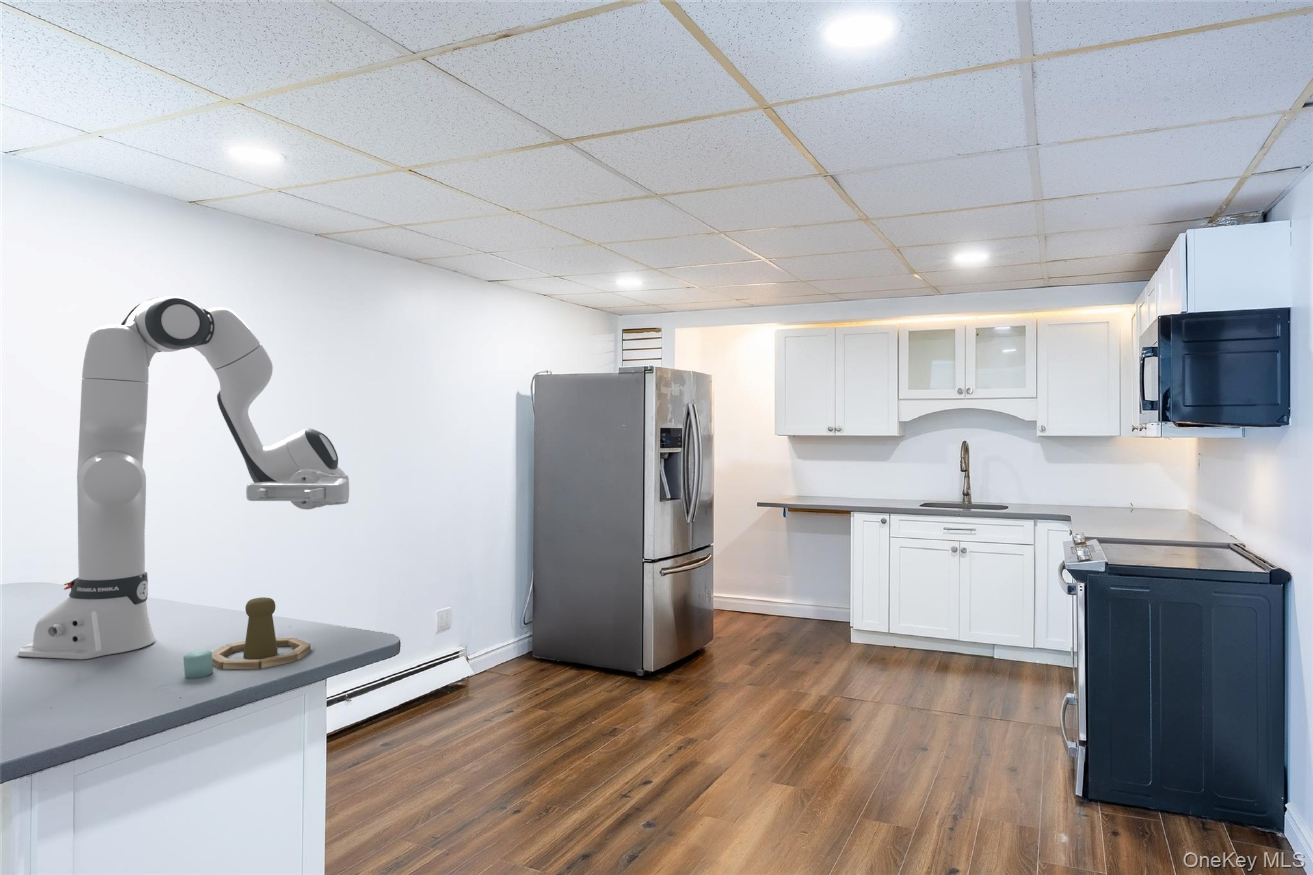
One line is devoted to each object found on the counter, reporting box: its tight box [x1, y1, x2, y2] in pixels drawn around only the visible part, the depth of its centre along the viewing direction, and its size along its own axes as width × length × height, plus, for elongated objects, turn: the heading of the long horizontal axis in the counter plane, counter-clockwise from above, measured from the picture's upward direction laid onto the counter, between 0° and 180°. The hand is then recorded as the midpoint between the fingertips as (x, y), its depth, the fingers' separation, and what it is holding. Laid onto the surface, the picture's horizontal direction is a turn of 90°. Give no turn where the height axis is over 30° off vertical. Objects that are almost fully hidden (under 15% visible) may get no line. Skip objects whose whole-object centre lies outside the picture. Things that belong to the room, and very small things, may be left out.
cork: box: [242, 597, 279, 660], centre depth 157 cm, size 6×6×11 cm
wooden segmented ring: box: [211, 637, 311, 670], centre depth 156 cm, size 17×17×1 cm
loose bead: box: [182, 649, 214, 679], centre depth 145 cm, size 4×4×4 cm
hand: (284, 494), depth 168 cm, fingers open, 8 cm apart
